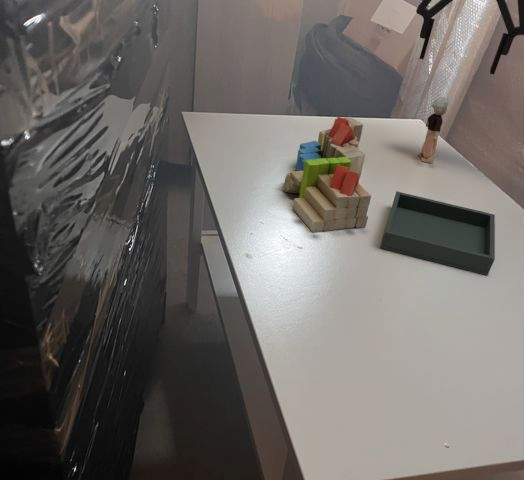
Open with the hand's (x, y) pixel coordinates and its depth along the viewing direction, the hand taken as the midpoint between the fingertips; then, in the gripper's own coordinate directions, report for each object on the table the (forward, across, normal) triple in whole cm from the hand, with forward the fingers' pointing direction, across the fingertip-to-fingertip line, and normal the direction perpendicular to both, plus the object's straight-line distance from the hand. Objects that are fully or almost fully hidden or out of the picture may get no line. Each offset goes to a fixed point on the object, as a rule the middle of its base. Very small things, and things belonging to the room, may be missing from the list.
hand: (456, 64), depth 112 cm
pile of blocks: (+19, -18, -24) cm, 36 cm away
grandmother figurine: (+19, 0, 0) cm, 19 cm away
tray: (+19, +5, -34) cm, 39 cm away
